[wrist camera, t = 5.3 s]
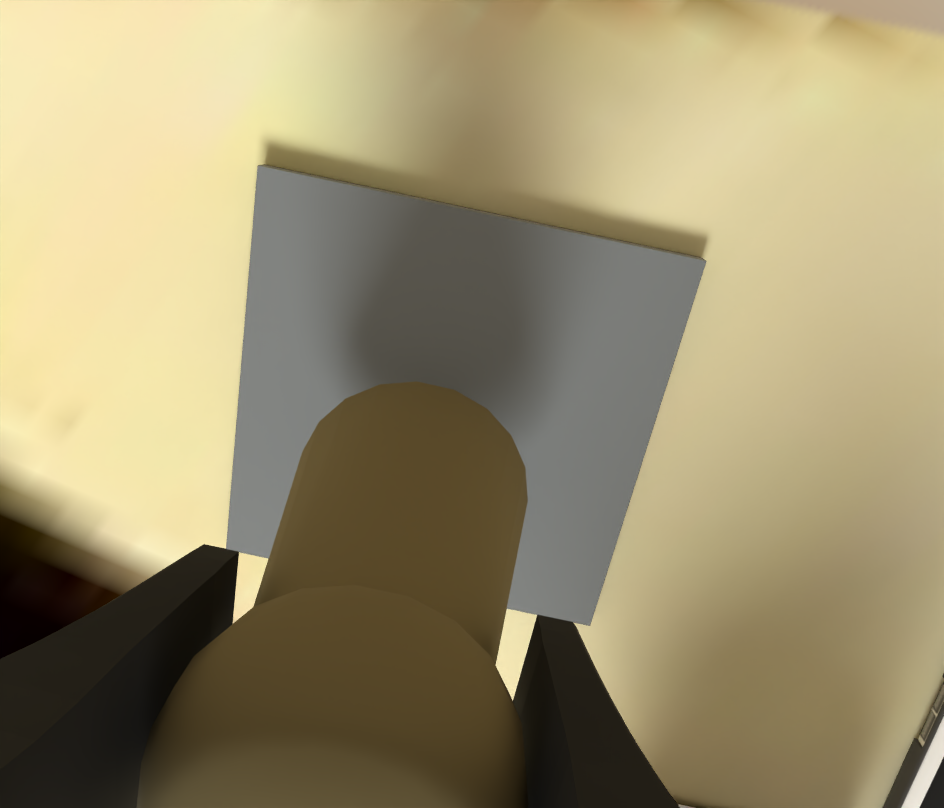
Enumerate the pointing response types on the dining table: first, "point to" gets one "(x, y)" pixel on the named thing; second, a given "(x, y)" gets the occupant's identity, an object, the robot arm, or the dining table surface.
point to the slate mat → (459, 355)
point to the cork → (366, 628)
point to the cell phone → (923, 766)
